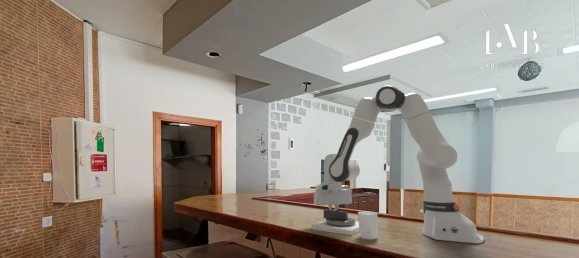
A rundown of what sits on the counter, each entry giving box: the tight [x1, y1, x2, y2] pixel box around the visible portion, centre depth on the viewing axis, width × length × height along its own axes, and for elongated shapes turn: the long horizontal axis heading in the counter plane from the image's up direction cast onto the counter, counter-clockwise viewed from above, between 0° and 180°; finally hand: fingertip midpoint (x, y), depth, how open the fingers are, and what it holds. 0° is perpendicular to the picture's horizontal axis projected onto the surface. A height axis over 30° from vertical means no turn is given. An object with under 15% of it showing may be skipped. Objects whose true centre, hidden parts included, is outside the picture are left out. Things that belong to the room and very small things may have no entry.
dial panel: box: [311, 219, 360, 236], centre depth 134 cm, size 20×20×2 cm
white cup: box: [357, 210, 378, 240], centre depth 118 cm, size 8×8×10 cm
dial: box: [323, 208, 356, 226], centre depth 135 cm, size 16×14×6 cm
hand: (333, 213), depth 142 cm, fingers closed
